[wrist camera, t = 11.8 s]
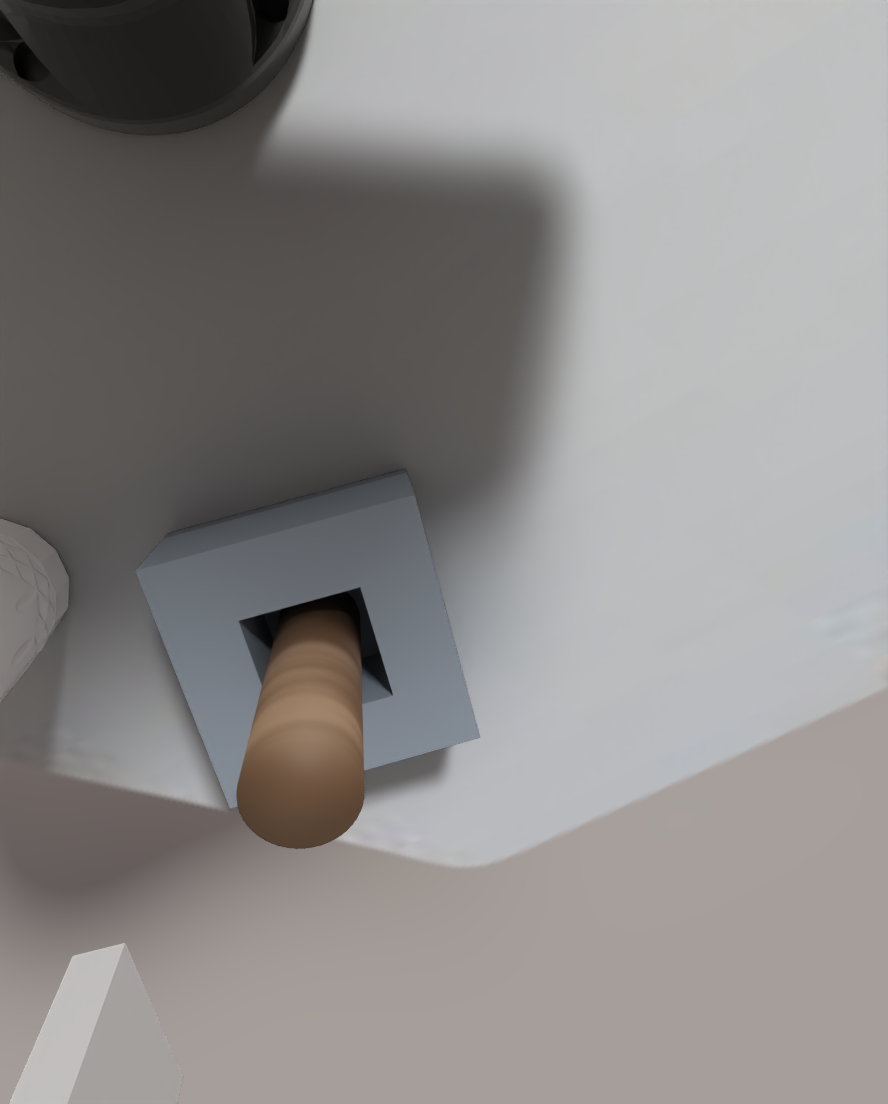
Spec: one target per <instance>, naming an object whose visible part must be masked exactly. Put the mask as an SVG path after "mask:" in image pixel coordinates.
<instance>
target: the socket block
mask: <svg viewBox="0 0 888 1104" xmlns="http://www.w3.org/2000/svg"><path fill="white" fill-rule="evenodd" d="M135 573H136V575H137V578H138V580H139V583H140V585H141V588H142V590H143V593H144V595H145V598H146V600H147V603H148V605H149V608H150V610H151V613H152V615H153V618H154V620H155V623H156V625H157V628H158V630H159V633H160V635H161V638H162V640H163V643H164V645H165V648H166V650H167V653H168V655H169V658H170V660H171V663H172V665H173V668H174V670H175V673H176V675H177V678H178V680H179V683H180V685H181V688H182V690H183V693H184V695H185V698H186V700H187V703H188V705H189V708H190V710H191V713H192V715H193V718H194V720H195V723H196V725H197V728H198V730H199V733H200V735H201V738H202V740H203V743H204V745H205V748H206V750H207V753H208V755H209V758H210V760H211V763H212V765H213V768H214V770H215V773H216V775H217V778H218V780H219V783H220V785H221V788H222V790H223V793H224V795H225V798H226V800H227V803H228V805H229V808H230V809H231V808H235V807H238V805H237V799H236V791H237V784H238V780H239V776H240V772H241V768H242V764H243V760H244V756H245V752H246V748H247V744H248V740H249V736H250V732H251V728H252V724H253V720H254V716H255V712H256V708H257V704H258V700H259V696H260V692H261V688H262V684H263V680H264V676H265V672H266V668H267V664H268V660H269V656H270V652H271V648H272V644H273V640H274V636H275V632H276V628H277V624H278V620H279V616H280V612H281V609H283V608H287V607H290V606H294V605H298V604H301V603H305V602H309V601H312V600H316V599H319V598H323V597H327V596H330V595H334V594H337V593H341V592H345V591H346V592H347V593H348V594H349V595H350V596H351V597H352V598H353V599H354V601H355V602H356V604H357V606H358V609H359V613H360V627H361V668H362V709H363V750H364V771H365V770H368V769H372V768H375V767H379V766H382V765H386V764H389V763H393V762H396V761H400V760H403V759H407V758H410V757H414V756H418V755H421V754H425V753H428V752H432V751H435V750H439V749H442V748H446V747H449V746H453V745H456V744H460V743H463V742H467V741H470V740H474V739H477V738H480V734H479V731H478V727H477V723H476V720H475V716H474V712H473V708H472V705H471V701H470V697H469V694H468V690H467V686H466V683H465V679H464V675H463V671H462V668H461V664H460V660H459V657H458V653H457V649H456V646H455V642H454V638H453V635H452V631H451V627H450V623H449V620H448V616H447V612H446V609H445V605H444V601H443V598H442V594H441V590H440V586H439V583H438V579H437V575H436V572H435V568H434V564H433V561H432V557H431V553H430V549H429V546H428V542H427V538H426V535H425V531H424V527H423V524H422V520H421V516H420V512H419V509H418V505H417V501H416V498H415V494H414V491H413V488H412V486H411V483H410V480H409V477H408V474H407V471H406V469H402V470H399V471H395V472H391V473H388V474H384V475H380V476H377V477H373V478H369V479H366V480H362V481H358V482H355V483H351V484H347V485H344V486H340V487H336V488H333V489H329V490H325V491H322V492H318V493H314V494H310V495H307V496H303V497H299V498H296V499H292V500H288V501H285V502H281V503H277V504H274V505H270V506H266V507H263V508H259V509H255V510H252V511H248V512H244V513H241V514H237V515H233V516H229V517H226V518H222V519H218V520H215V521H211V522H207V523H204V524H200V525H196V526H193V527H189V528H185V529H182V530H178V531H174V532H171V533H168V534H167V535H166V536H165V537H164V538H163V540H162V541H161V542H160V543H159V544H158V545H157V546H156V548H155V549H154V550H153V551H152V552H151V553H150V554H149V556H148V557H147V558H146V559H145V560H144V561H143V562H142V563H141V565H140V566H139V567H138V568H137V569H136V570H135Z"/></svg>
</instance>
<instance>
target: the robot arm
mask: <svg viewBox="0 0 888 1104" xmlns="http://www.w3.org/2000/svg"><path fill="white" fill-rule="evenodd" d="M311 4H312V0H0V70H1V71H2V72H3V73H5V74H6V75H7V76H8V77H10V78H11V79H12V80H14V81H15V82H17V83H18V84H19V85H21V86H22V87H23V88H25V89H26V90H28V91H29V92H30V93H32V94H33V95H35V96H36V97H38V98H39V99H40V100H42V101H44V102H45V103H47V104H48V105H50V106H52V107H53V108H55V109H57V110H59V111H61V112H63V113H65V114H67V115H69V116H71V117H73V118H75V119H78V120H80V121H82V122H85V123H88V124H91V125H94V126H97V127H100V128H104V129H108V130H112V131H117V132H122V133H130V134H140V135H163V134H172V133H179V132H184V131H189V130H193V129H196V128H200V127H203V126H206V125H208V124H211V123H213V122H216V121H218V120H220V119H222V118H224V117H226V116H228V115H230V114H231V113H233V112H235V111H236V110H238V109H240V108H241V107H242V106H244V105H245V104H247V103H248V102H249V101H251V100H252V99H253V98H254V97H255V96H256V95H258V94H259V93H260V92H261V91H262V90H263V89H264V88H265V87H266V86H267V85H268V84H269V83H270V82H271V80H272V79H273V78H274V77H275V76H276V74H277V73H278V72H279V71H280V69H281V68H282V66H283V65H284V64H285V62H286V61H287V59H288V58H289V56H290V54H291V52H292V51H293V49H294V47H295V45H296V43H297V41H298V39H299V37H300V35H301V33H302V30H303V28H304V25H305V23H306V20H307V17H308V14H309V11H310V8H311ZM182 1081H183V1075H182V1073H181V1070H180V1068H179V1066H178V1064H177V1061H176V1059H175V1057H174V1054H173V1052H172V1050H171V1047H170V1045H169V1043H168V1041H167V1038H166V1036H165V1034H164V1031H163V1029H162V1027H161V1024H160V1022H159V1020H158V1018H157V1015H156V1013H155V1011H154V1008H153V1006H152V1004H151V1001H150V999H149V997H148V994H147V992H146V990H145V988H144V985H143V983H142V981H141V978H140V976H139V974H138V971H137V969H136V967H135V964H134V962H133V960H132V958H131V955H130V953H129V951H128V948H127V946H126V944H125V943H123V944H119V945H115V946H111V947H106V948H103V949H99V950H94V951H90V952H86V953H82V954H78V955H74V956H73V957H72V959H71V961H70V963H69V966H68V968H67V970H66V973H65V975H64V977H63V980H62V982H61V984H60V987H59V989H58V991H57V994H56V996H55V998H54V1001H53V1003H52V1005H51V1007H50V1010H49V1012H48V1014H47V1017H46V1019H45V1021H44V1024H43V1026H42V1028H41V1030H40V1033H39V1035H38V1038H37V1040H36V1042H35V1044H34V1047H33V1049H32V1051H31V1054H30V1056H29V1058H28V1060H27V1063H26V1065H25V1067H24V1070H23V1072H22V1074H21V1077H20V1079H19V1081H18V1084H17V1086H16V1088H15V1091H14V1093H13V1095H12V1097H11V1100H10V1102H9V1104H177V1103H178V1099H179V1094H180V1090H181V1085H182Z"/></svg>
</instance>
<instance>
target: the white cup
mask: <svg viewBox="0 0 888 1104" xmlns="http://www.w3.org/2000/svg"><path fill="white" fill-rule="evenodd" d="M68 604H69V576H68V574H67V572H66V570H65V568H64V566H63V564H62V562H61V560H60V557H59V555H58V553H57V551H56V550H55V549H54V548H53V547H52V546H51V545H49V544H48V543H47V542H46V541H45V540H44V539H42V538H41V537H40V536H39V535H38V534H37V533H35V532H34V531H33V530H32V529H30V528H28V527H25V526H22V525H19V524H16V523H13V522H10V521H7V520H4V519H1V518H0V702H1V701H2V700H3V699H4V697H5V696H6V695H7V694H8V692H9V691H10V690H11V689H12V688H13V686H14V685H15V684H16V683H17V681H18V680H19V679H20V678H21V676H22V675H23V674H24V673H25V671H26V670H27V669H28V668H29V666H30V665H31V663H32V662H33V661H34V659H35V658H36V656H37V655H38V654H39V652H40V651H41V650H42V648H43V647H44V645H45V644H46V642H47V639H48V638H49V637H50V635H51V634H52V633H53V631H54V630H55V628H56V627H57V625H58V623H59V622H60V620H61V619H62V617H63V615H64V614H65V612H66V610H67V609H68Z"/></svg>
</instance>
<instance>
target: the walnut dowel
mask: <svg viewBox="0 0 888 1104" xmlns="http://www.w3.org/2000/svg"><path fill="white" fill-rule="evenodd" d="M236 799H237V805H238V809H239V812H240V814H241V816H242V818H243V820H244V821H245V823H246V824H247V826H248V827H249V828H250V829H251V830H252V831H253V832H254V833H255V834H257V835H258V836H259V837H261V838H263V839H264V840H266V841H268V842H270V843H272V844H275V845H278V846H282V847H287V848H296V849H298V848H311V847H316V846H320V845H323V844H326V843H328V842H330V841H332V840H334V839H336V838H338V837H339V836H341V835H342V834H343V833H344V832H346V831H347V830H348V829H349V828H350V827H351V826H352V825H353V823H354V822H355V820H356V819H357V817H358V815H359V813H360V811H361V809H362V806H363V801H364V750H363V709H362V668H361V627H360V613H359V609H358V606H357V604H356V602H355V601H354V599H353V598H352V597H351V596H350V595H349V594H348V593H347V592H346V591H345V592H341V593H337V594H334V595H330V596H327V597H323V598H319V599H316V600H312V601H309V602H305V603H301V604H298V605H294V606H290V607H287V608H283V609H281V612H280V616H279V620H278V624H277V628H276V632H275V636H274V640H273V644H272V648H271V652H270V656H269V660H268V664H267V668H266V672H265V676H264V680H263V684H262V688H261V692H260V696H259V700H258V704H257V708H256V712H255V716H254V720H253V724H252V728H251V732H250V736H249V740H248V744H247V748H246V752H245V756H244V760H243V764H242V768H241V772H240V776H239V780H238V784H237V791H236Z"/></svg>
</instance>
